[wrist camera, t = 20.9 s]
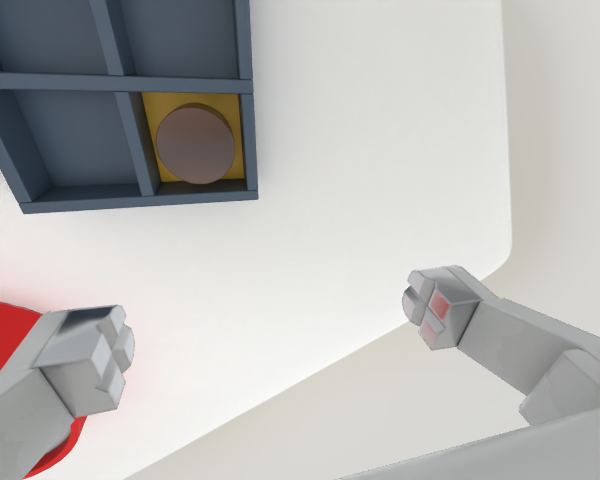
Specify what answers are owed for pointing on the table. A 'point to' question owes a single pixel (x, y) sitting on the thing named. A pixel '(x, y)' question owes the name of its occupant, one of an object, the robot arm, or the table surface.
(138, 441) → the table surface
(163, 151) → the cylinder
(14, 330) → the toy clock
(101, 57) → the grid
